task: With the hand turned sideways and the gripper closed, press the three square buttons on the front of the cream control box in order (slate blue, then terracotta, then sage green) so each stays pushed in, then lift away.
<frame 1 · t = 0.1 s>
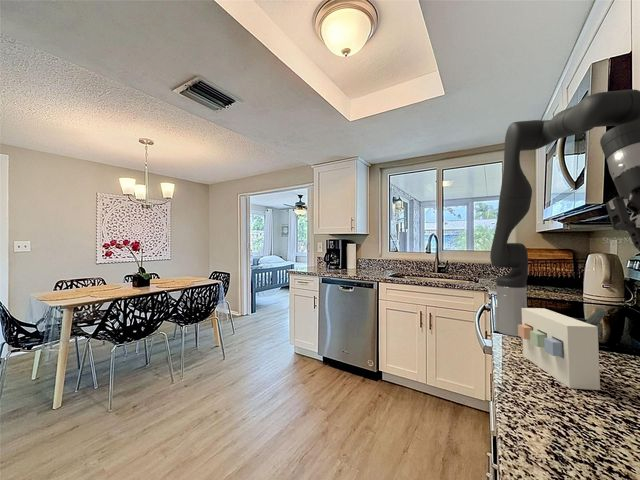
mortar and pestle: (584, 343, 92), on the countertop
control box: (556, 370, 72), on the countertop
sage button: (538, 338, 73), point 8 cm above the countertop, slide at 0.0 cm
terracotta button: (525, 331, 79), point 8 cm above the countertop, slide at 0.0 cm
blue button: (553, 346, 67), point 8 cm above the countertop, slide at 0.0 cm
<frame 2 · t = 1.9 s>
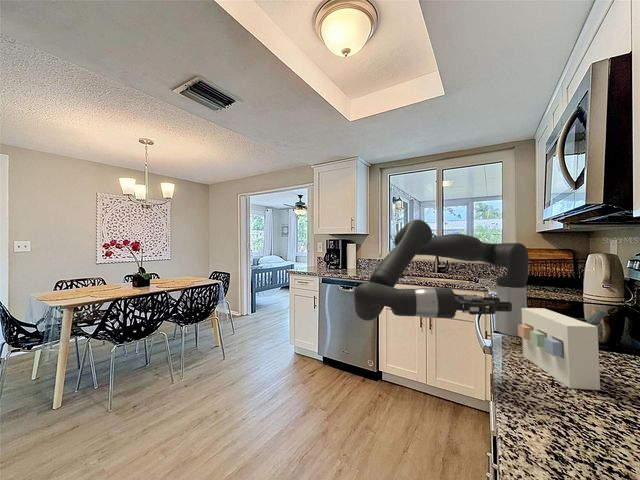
hand: (504, 304, 69), 18 cm above the countertop, tool horizontal, fingers open, 5 cm apart
nothing on the countertop moved.
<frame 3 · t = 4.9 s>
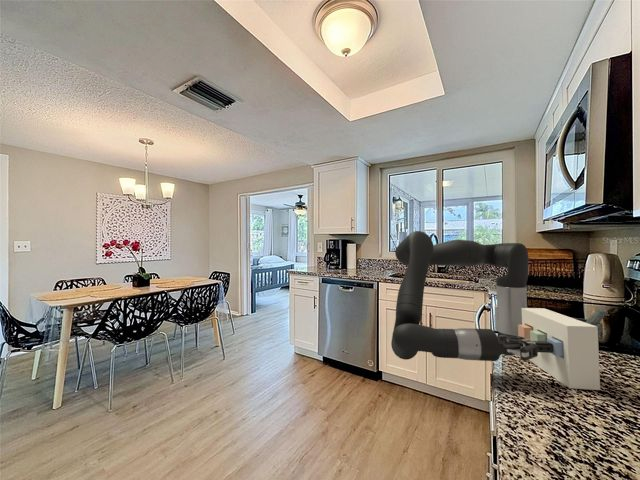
hand: (551, 347, 67), 8 cm above the countertop, tool horizontal, fingers closed
blue button: (555, 347, 67), point 8 cm above the countertop, slide at 0.6 cm, touching gripper
everything else where it was.
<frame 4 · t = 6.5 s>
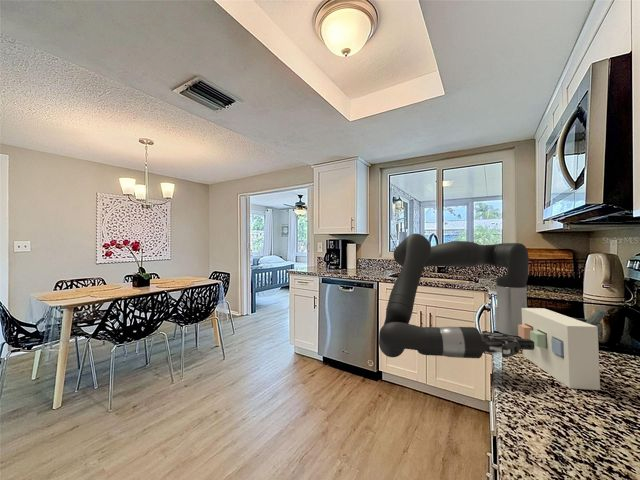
hand: (532, 344, 69), 8 cm above the countertop, tool horizontal, fingers closed
blue button: (560, 347, 67), point 8 cm above the countertop, slide at 1.6 cm
everything else where it was.
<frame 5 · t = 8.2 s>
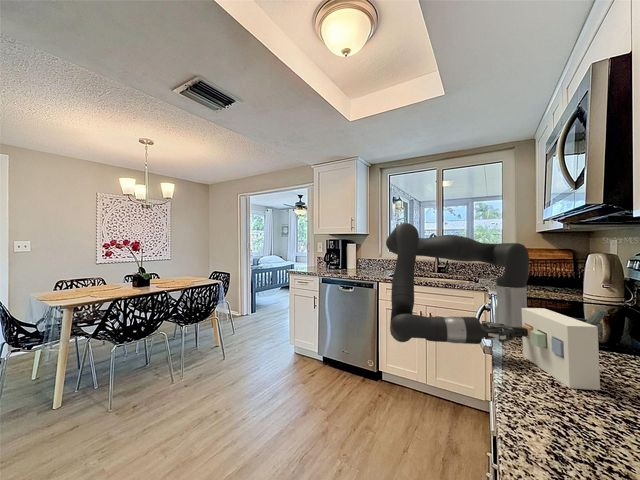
hand: (525, 331, 79), 8 cm above the countertop, tool horizontal, fingers closed
terracotta button: (530, 332, 79), point 8 cm above the countertop, slide at 1.3 cm, touching gripper
everything else where it was.
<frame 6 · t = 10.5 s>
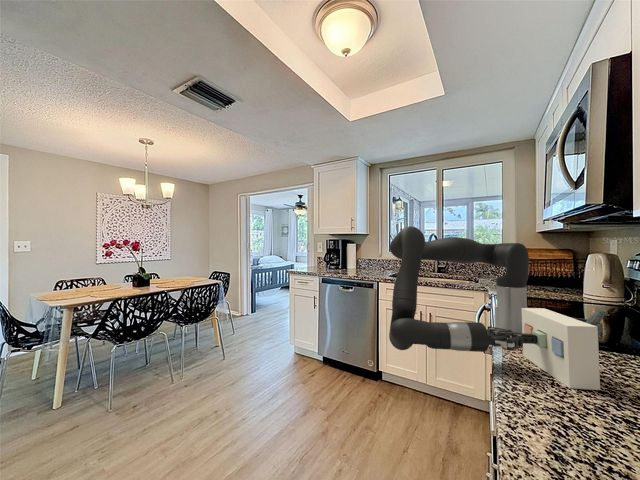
hand: (535, 338, 73), 8 cm above the countertop, tool horizontal, fingers closed
sage button: (540, 338, 73), point 8 cm above the countertop, slide at 0.5 cm, touching gripper
terracotta button: (531, 332, 79), point 8 cm above the countertop, slide at 1.6 cm
everything else where it was.
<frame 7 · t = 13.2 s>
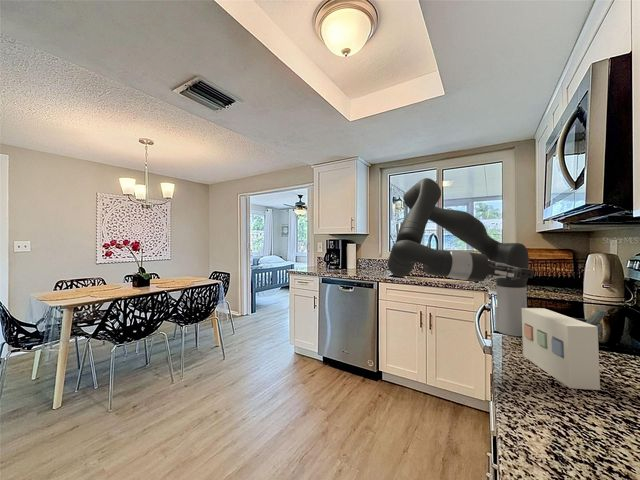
hand: (531, 273, 74), 25 cm above the countertop, tool horizontal, fingers closed
sage button: (544, 339, 73), point 8 cm above the countertop, slide at 1.6 cm
everything else where it was.
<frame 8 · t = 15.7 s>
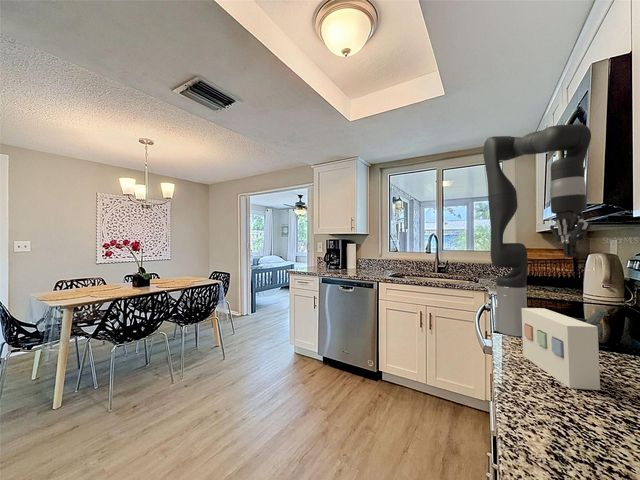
hand: (570, 257, 78), 29 cm above the countertop, tool pointing down, fingers closed
nothing on the countertop moved.
at the end: blue button slide at 1.6 cm; terracotta button slide at 1.6 cm; sage button slide at 1.6 cm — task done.
